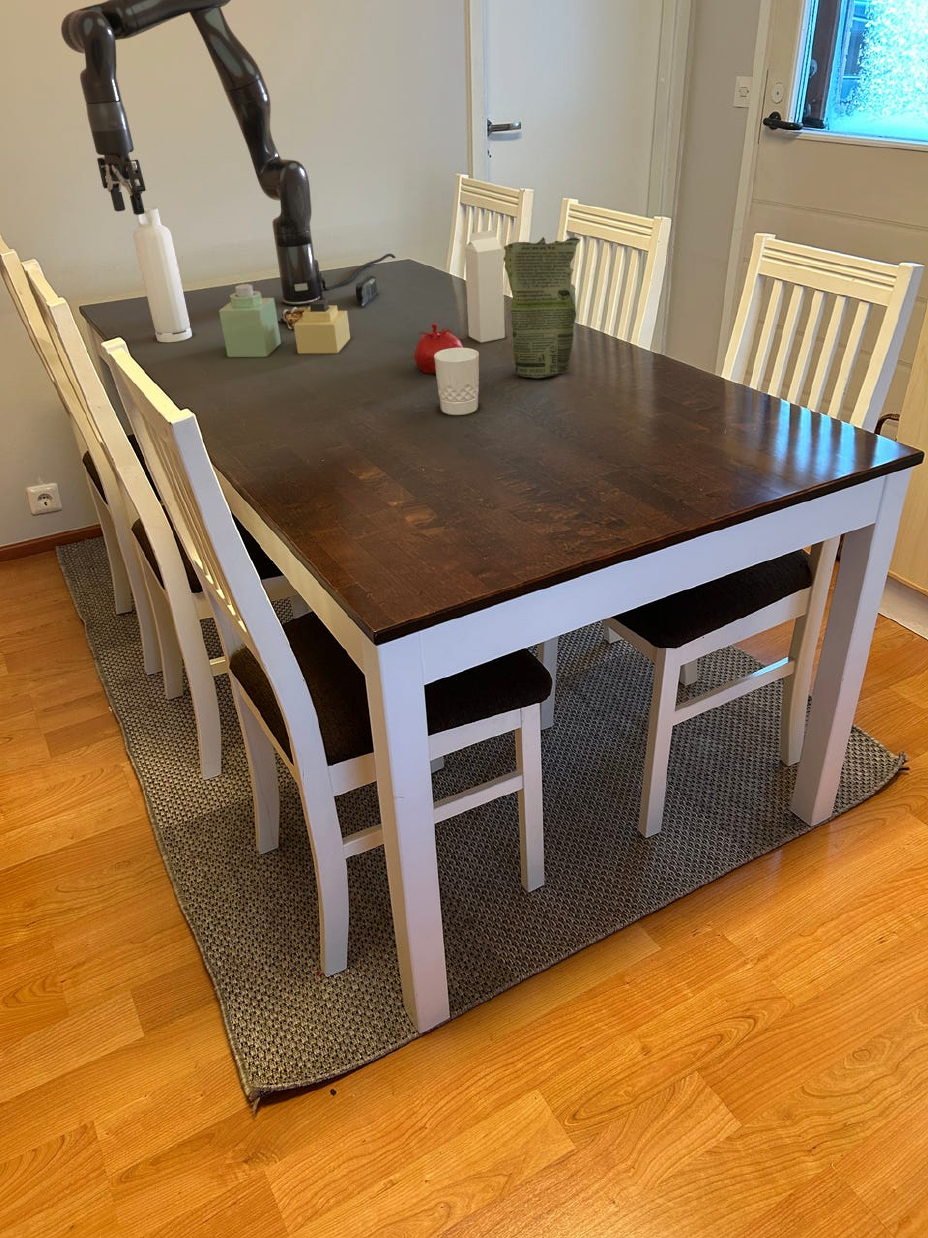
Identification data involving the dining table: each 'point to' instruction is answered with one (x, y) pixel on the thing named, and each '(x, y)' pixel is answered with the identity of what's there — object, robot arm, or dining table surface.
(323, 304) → the charcoal square push button
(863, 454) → the dining table surface
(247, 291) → the round grey push button
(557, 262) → the pouch
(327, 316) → the block
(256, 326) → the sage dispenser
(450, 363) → the white cup
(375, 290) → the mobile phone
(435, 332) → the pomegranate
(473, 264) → the milk
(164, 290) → the bottle
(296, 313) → the barbecue chicken platter
